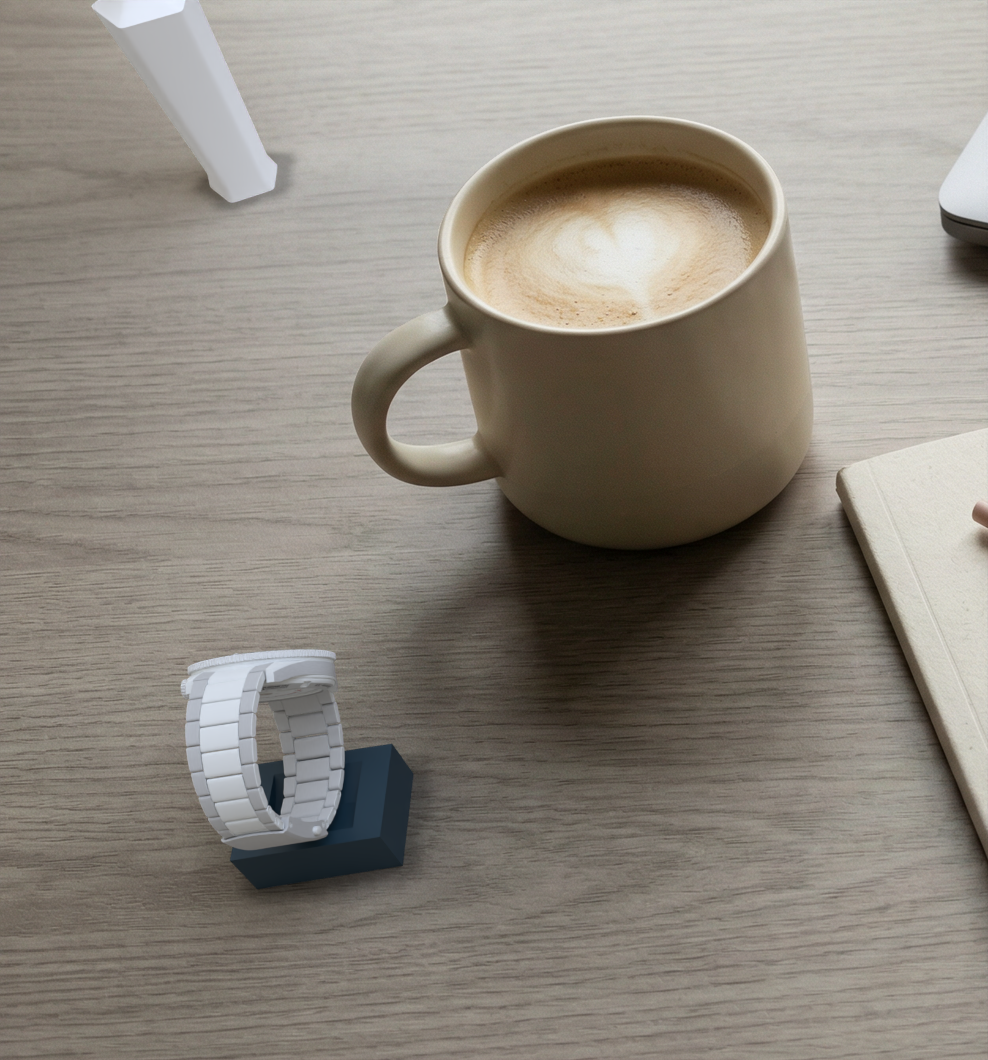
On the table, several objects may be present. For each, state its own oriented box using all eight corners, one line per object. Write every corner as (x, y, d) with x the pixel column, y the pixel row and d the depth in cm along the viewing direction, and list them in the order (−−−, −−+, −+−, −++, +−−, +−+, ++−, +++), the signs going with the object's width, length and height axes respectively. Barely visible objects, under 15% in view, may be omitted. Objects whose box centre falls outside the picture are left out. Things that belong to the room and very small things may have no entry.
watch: (424, 743, 73) (319, 589, 64) (404, 913, 68) (288, 772, 59) (285, 764, 72) (160, 611, 63) (255, 938, 67) (115, 798, 58)
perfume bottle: (284, 153, 96) (155, -87, 85) (303, 196, 94) (174, -44, 82) (198, 180, 95) (55, -60, 83) (216, 225, 92) (71, -15, 81)
